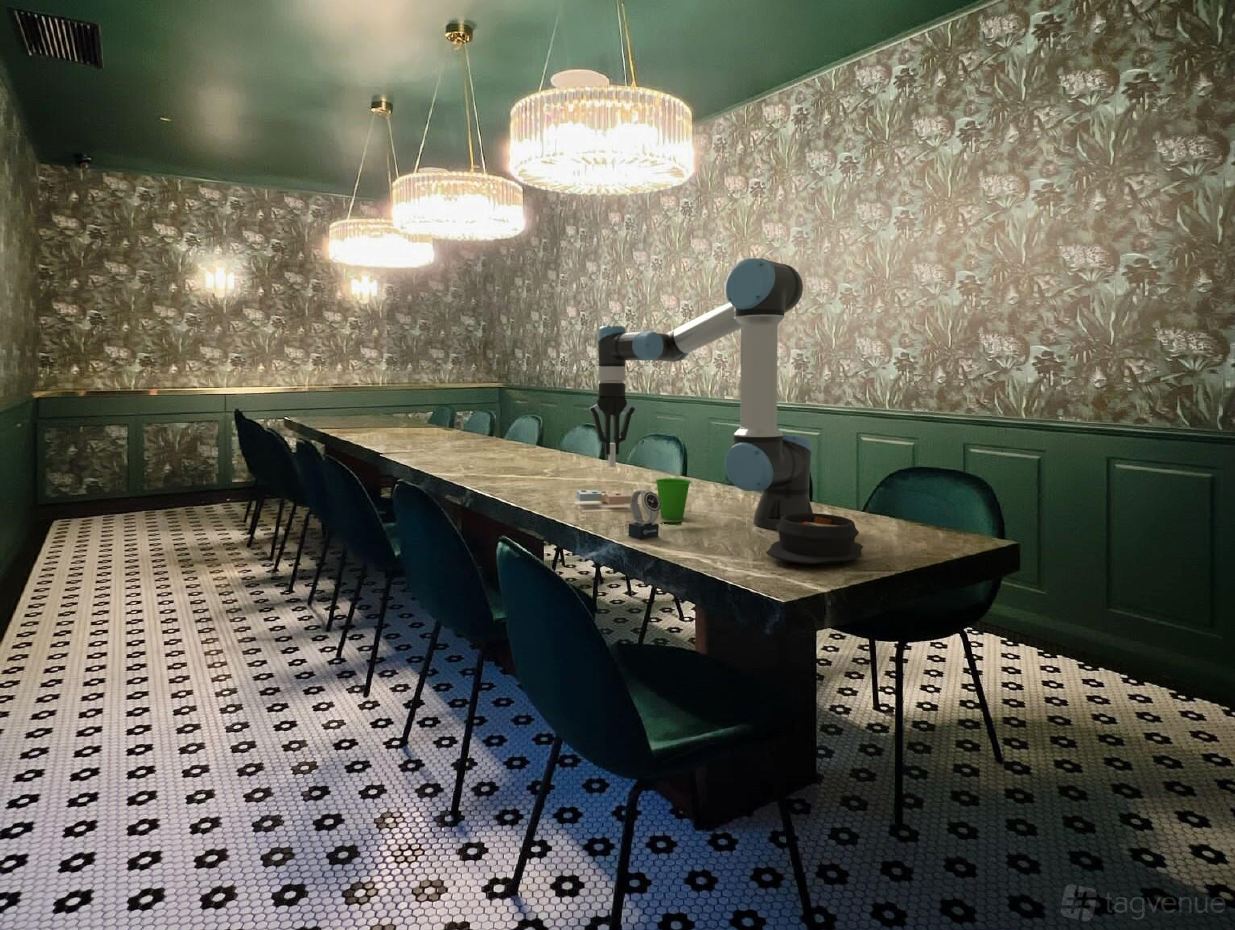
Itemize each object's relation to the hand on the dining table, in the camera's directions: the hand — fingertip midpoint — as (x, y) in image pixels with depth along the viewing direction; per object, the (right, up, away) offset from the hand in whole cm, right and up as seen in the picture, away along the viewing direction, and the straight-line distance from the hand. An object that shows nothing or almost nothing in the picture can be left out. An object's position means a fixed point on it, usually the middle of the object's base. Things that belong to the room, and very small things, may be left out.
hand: (611, 466), depth 212 cm
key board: (-2, -12, -4) cm, 13 cm away
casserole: (+43, -20, -54) cm, 72 cm away
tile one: (+2, -10, -8) cm, 13 cm away
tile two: (-6, -9, -5) cm, 12 cm away
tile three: (-1, -10, +2) cm, 10 cm away
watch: (+8, -17, -36) cm, 40 cm away
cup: (+16, -15, -20) cm, 29 cm away
